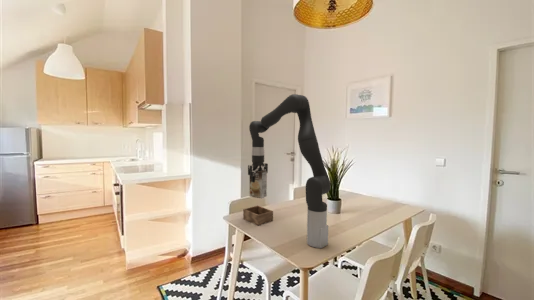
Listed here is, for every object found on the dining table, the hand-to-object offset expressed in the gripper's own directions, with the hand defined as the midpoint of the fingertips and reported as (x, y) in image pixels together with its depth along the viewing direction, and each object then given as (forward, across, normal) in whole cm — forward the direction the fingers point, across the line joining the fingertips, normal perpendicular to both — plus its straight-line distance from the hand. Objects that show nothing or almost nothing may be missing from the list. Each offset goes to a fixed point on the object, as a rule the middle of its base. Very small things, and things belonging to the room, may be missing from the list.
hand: (258, 181), depth 147 cm
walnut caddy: (+24, 0, 0) cm, 24 cm away
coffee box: (+10, 0, 0) cm, 10 cm away
